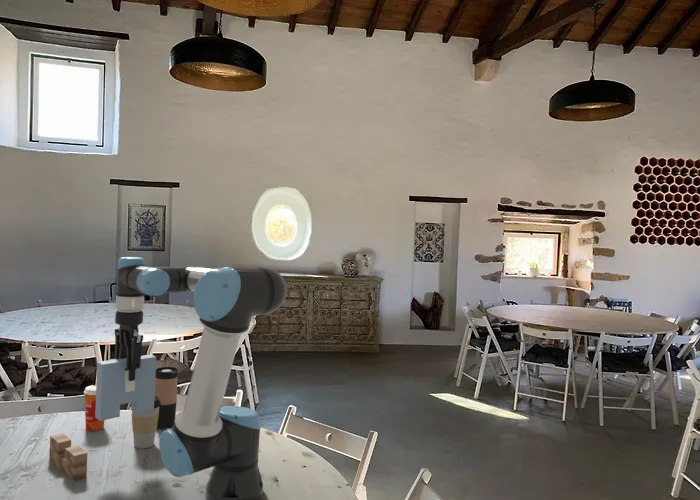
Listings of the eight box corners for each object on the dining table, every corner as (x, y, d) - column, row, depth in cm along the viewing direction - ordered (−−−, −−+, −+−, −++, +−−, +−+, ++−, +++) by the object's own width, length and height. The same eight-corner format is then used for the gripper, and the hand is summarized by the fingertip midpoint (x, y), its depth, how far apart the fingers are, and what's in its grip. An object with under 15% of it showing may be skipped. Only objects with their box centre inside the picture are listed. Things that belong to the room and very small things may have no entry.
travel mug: (153, 422, 196) (155, 366, 195) (175, 421, 198) (178, 366, 197) (152, 430, 188) (154, 372, 188) (175, 429, 191) (178, 372, 190)
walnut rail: (86, 477, 152) (87, 452, 152) (73, 481, 150) (74, 455, 150) (61, 456, 165) (62, 433, 164) (49, 459, 162) (50, 435, 162)
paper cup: (82, 425, 189) (84, 385, 189) (106, 423, 193) (108, 383, 192) (82, 433, 182) (83, 391, 182) (107, 431, 185) (109, 390, 185)
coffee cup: (148, 452, 171) (151, 405, 170) (121, 448, 173) (123, 401, 172) (165, 441, 180) (167, 396, 179) (139, 437, 182) (141, 392, 181)
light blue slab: (153, 409, 166) (156, 356, 165) (100, 420, 154) (102, 364, 154) (148, 406, 168) (150, 354, 168) (95, 417, 157) (97, 361, 156)
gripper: (155, 313, 157) (152, 394, 158) (129, 305, 168) (125, 380, 169) (130, 315, 152) (126, 399, 153) (104, 307, 163) (101, 385, 164)
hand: (126, 389), depth 161 cm, fingers closed on light blue slab, 3 cm apart
